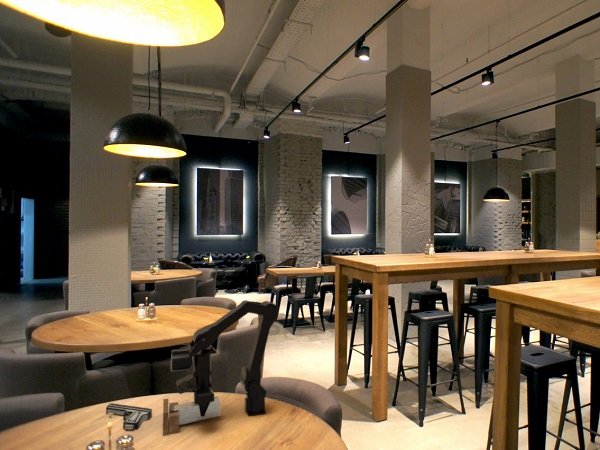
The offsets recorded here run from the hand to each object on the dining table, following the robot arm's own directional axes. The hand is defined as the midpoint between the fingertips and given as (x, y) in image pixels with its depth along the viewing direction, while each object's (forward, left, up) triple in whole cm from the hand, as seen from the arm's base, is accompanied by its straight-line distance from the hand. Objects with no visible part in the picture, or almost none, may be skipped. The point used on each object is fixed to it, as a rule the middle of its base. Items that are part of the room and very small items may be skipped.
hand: (202, 413), depth 127 cm
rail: (+2, 0, -1) cm, 2 cm away
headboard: (+9, 0, -3) cm, 9 cm away
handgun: (+26, -10, -3) cm, 28 cm away
